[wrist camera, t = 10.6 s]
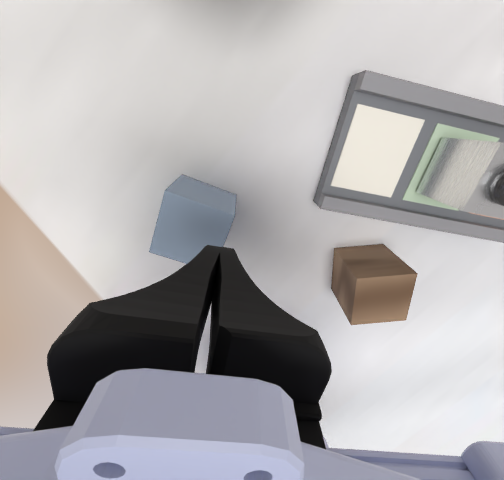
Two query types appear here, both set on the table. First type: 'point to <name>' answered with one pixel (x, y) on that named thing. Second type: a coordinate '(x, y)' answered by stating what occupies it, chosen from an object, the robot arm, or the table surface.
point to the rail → (403, 153)
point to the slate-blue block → (192, 219)
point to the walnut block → (372, 284)
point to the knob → (467, 176)
